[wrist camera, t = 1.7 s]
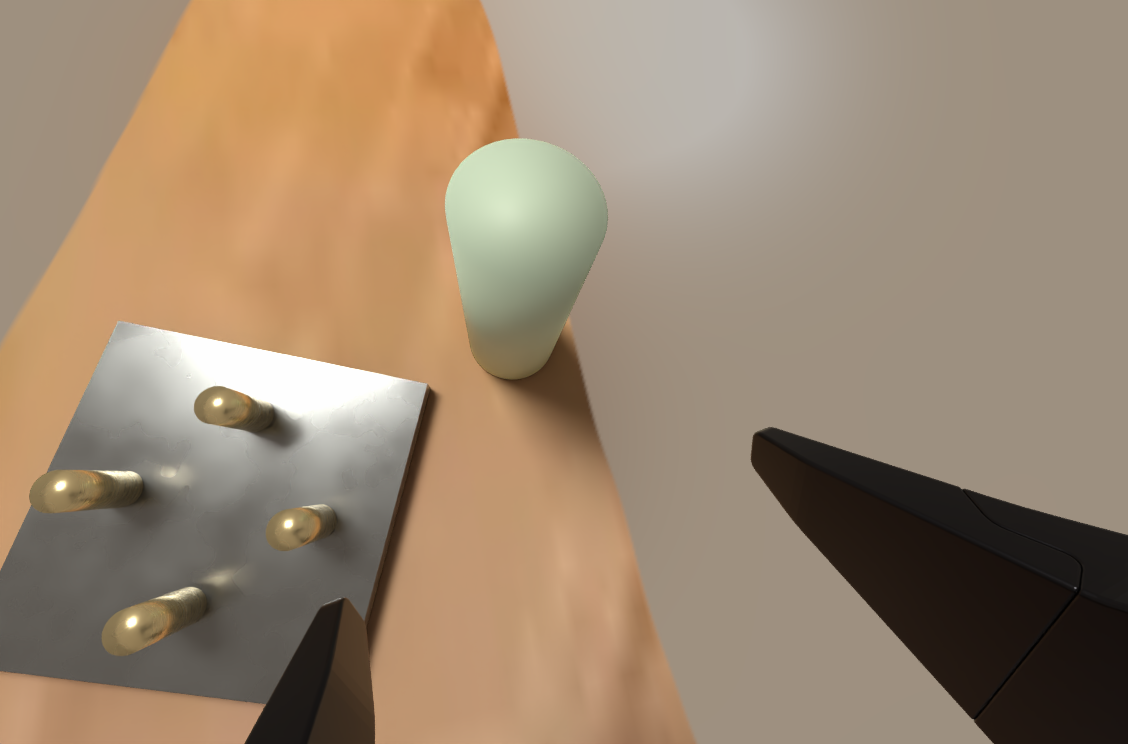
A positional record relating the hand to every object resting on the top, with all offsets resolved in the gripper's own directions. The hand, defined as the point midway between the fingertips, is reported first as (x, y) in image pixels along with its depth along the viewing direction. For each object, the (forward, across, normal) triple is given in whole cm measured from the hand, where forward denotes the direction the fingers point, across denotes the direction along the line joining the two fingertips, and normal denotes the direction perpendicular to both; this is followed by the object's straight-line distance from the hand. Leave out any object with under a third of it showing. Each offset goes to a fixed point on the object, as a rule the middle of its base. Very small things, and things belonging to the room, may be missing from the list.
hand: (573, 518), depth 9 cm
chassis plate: (+13, +12, +6) cm, 19 cm away
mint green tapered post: (+15, -2, +3) cm, 16 cm away
